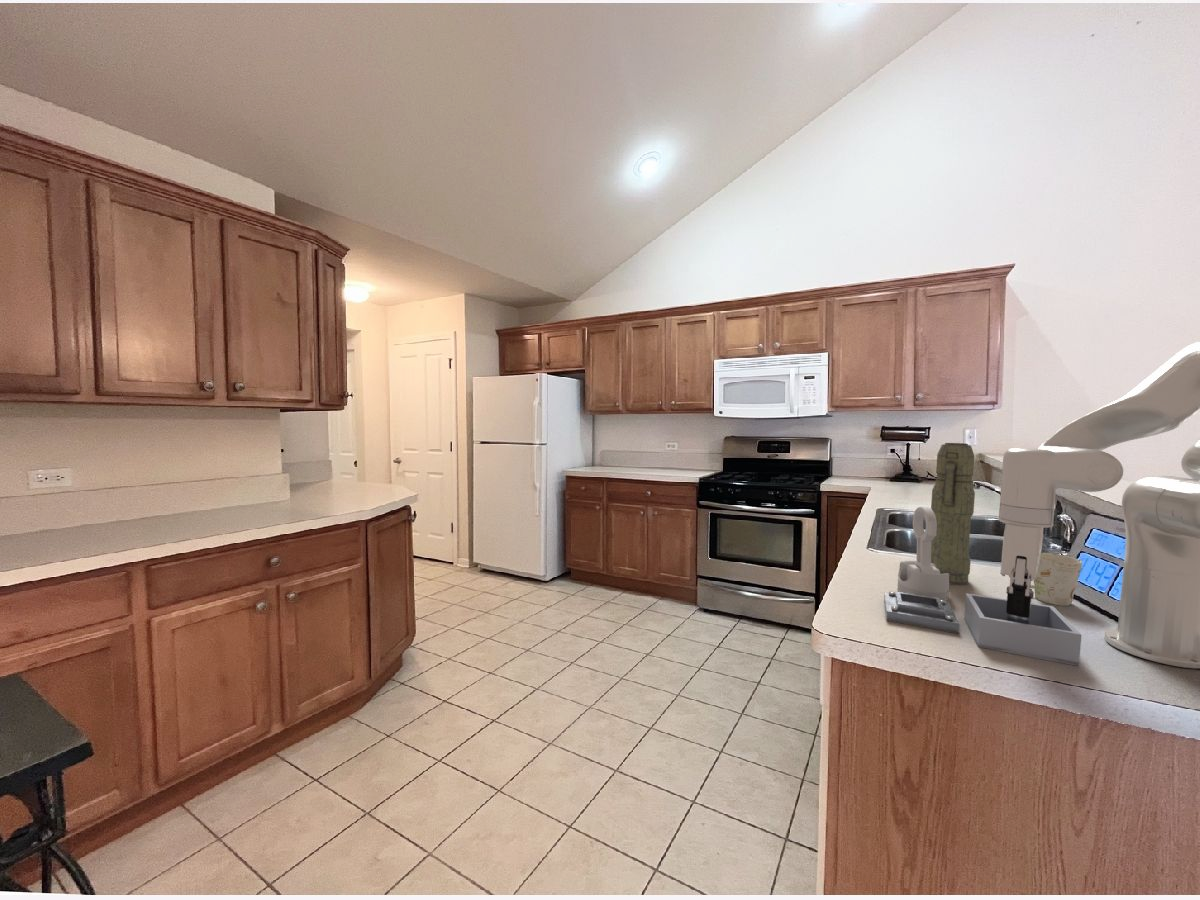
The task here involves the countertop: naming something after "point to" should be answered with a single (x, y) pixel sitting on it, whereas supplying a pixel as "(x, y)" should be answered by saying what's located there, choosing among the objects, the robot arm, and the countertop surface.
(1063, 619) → the bin
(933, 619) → the mount plate
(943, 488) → the green moai statue
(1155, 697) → the countertop surface
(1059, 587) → the mug
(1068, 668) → the countertop surface
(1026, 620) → the dark topped cylinder
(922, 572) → the engine component
